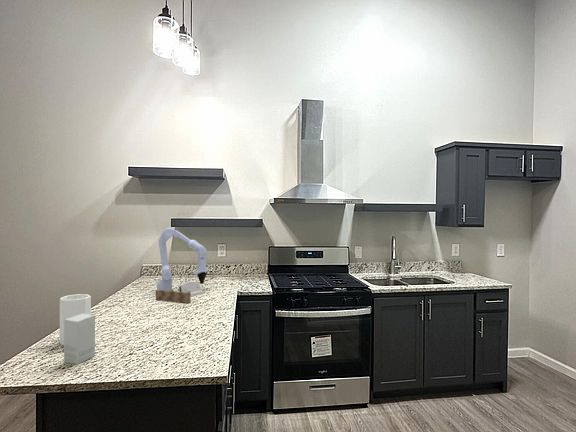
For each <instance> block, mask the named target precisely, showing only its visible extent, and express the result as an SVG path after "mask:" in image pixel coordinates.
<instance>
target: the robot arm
mask: <svg viewBox="0 0 576 432" xmlns="http://www.w3.org/2000/svg"><path fill="white" fill-rule="evenodd" d="M172 237H173V238H178V239H179V240H182V241H183V242H184V243H186V244H187V246H188V248H189V249H192V250H193V251H194V252H197V253H198V254H197V270H195V271H194V275H196V276H197V278H198V280H199V285H203V284H204V283H205V279H206V277H207V275H208V273H209V271H210V269H209V268H207V254H208V250H207V248H206V247H205V246H203V244H202V243H201V244H200V243H199V242H198V241H197V240H196V239H190V238H189V237H187V236H185V235H184V234H183V233H181V232H180V231H178V230H176V229H174V228H172V227H170V226H169V227H166V228H165V229H164V230H163V231H162V233H161V234H160V236H159V238H158V248H159V254H160V261H161V269H162V270H161V279H158V281H157V283H156V290H167V291H169V290H173V278H172V276H173V275H172V271H171V269H170V265H169V264H170V263H169V256H168V249H167V242H168V240H170V239H171V238H172Z"/></svg>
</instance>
